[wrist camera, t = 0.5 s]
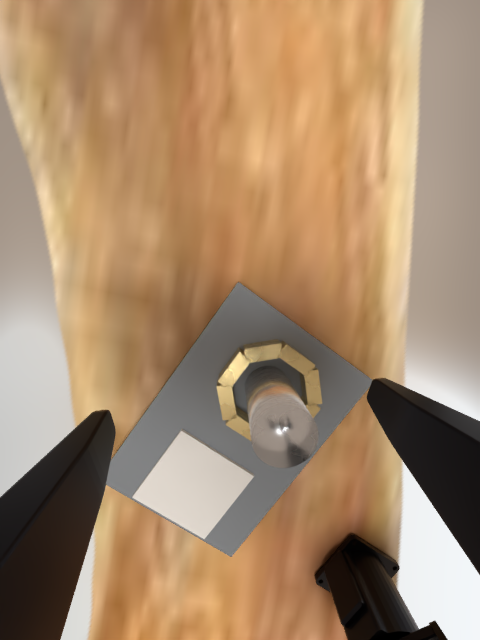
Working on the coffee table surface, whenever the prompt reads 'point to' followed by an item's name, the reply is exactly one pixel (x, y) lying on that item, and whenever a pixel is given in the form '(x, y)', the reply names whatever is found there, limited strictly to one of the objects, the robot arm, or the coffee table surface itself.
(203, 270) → the coffee table surface
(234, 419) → the brass octagonal ring
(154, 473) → the mat
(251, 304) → the board
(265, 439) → the peg
